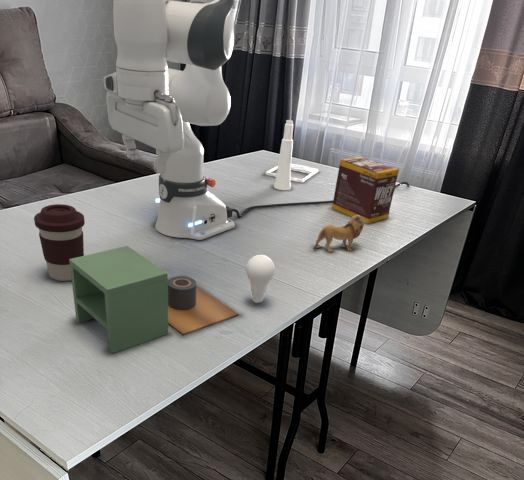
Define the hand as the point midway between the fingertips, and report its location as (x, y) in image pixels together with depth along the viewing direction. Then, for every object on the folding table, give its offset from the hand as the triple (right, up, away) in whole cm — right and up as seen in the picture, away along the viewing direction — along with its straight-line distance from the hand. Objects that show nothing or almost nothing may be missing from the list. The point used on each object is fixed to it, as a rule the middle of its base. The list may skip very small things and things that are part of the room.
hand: (146, 165), depth 103 cm
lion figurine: (+43, -8, +44) cm, 62 cm away
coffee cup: (-22, -19, +18) cm, 34 cm away
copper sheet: (+5, -26, +11) cm, 29 cm away
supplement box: (+53, +8, +70) cm, 88 cm away
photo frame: (+34, +31, +101) cm, 111 cm away
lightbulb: (+21, -25, +15) cm, 36 cm away
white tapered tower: (+29, +21, +85) cm, 92 cm away
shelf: (-5, -31, +2) cm, 31 cm away
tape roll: (+5, -25, +11) cm, 28 cm away
